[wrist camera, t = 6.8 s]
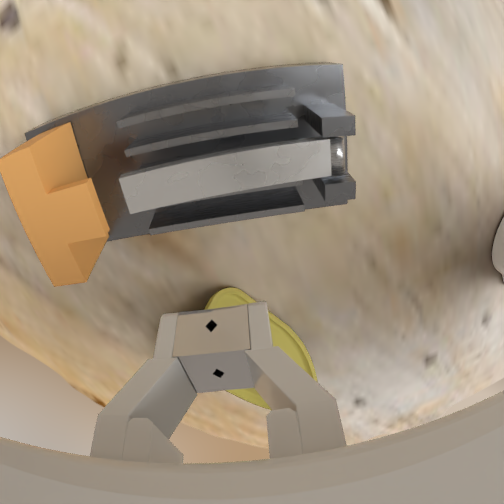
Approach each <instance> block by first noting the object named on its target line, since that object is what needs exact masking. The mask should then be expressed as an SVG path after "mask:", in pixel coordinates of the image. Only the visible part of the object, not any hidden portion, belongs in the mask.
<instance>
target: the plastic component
mask: <svg viewBox="0 0 504 504" xmlns="http://www.w3.org/2000/svg"><path fill="white" fill-rule="evenodd" d="M255 302H256V301H255V300H253V299H252V298H251V297H249V296H248V295H247V294H245V293H244V292H243V291H241V290H240V289H237V288H226V289H222V290H220V291H218V292H216V293H215V294H214V295H213V296H212V297H211V298H210V300H209V301H208V303H207V305H206V307H205V309H204V310H207V309H214V308H221V307H229V306H236V305H243V304H249V303H255ZM268 314H269V321H270V328H271V334H272V341H273V347H274V346H279V347H280V348H281V349H282V350H283V351H284V352H285V353H286V354H287V355H288V356H289V357H290V358H291V359H292V360H294V361H295V362H296V363H297V364H298V365H299V366H300V367H301V368H302V369H303V370H304V371H305V372H307V373H308V374H309V375H310V376H311V377H312V378H313V379H314V380H315V381H316V382H317V383H318V381H317V377H316V372H315V369H314V366H313V363H312V360H311V358H310V355H309V353H308V351H307V349H306V348H305V346H304V344H303V343H302V341H301V340H300V338H299V337H298V336H297V335H296V334H295V332H294V331H293V330H292V329H291V328H290V327H289V326H288V325H287V324H285V323H284V322H283V321H281V320H280V319H278V318H277V317H276V316H274V315H273V314H272V313H270V312H269V311H268ZM225 391H227V392H229V393H231V394H233V395H235V396H237V397H239V398H241V399H243V400H246V401H248V402H250V403H252V404H255V405H257V406H260V407H263V408H266V409H270V410H272V409H271V408H270V407H269V405H268V404H267V403H266V402H265V401H264V399H263V398H262V397H261V396H260V395H259V393H258V392H257V391H256V390H255V388H246V389H234V390H225Z"/></svg>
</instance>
